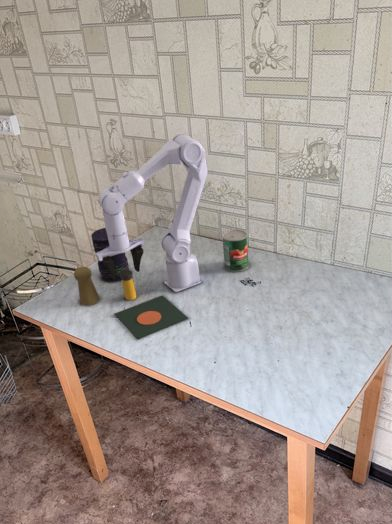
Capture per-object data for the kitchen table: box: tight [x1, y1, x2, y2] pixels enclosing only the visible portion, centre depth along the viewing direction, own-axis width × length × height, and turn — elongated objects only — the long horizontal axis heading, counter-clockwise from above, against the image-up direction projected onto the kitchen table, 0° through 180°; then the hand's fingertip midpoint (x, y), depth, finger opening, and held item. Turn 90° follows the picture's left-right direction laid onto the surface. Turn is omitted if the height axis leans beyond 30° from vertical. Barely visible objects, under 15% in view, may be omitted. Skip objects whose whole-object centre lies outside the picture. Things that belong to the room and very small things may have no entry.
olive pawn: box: [73, 266, 100, 306], centre depth 155 cm, size 6×6×11 cm
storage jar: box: [90, 227, 130, 283], centre depth 166 cm, size 10×10×15 cm
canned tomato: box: [221, 229, 250, 273], centre depth 163 cm, size 8×8×11 cm
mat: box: [114, 294, 189, 340], centre depth 147 cm, size 16×16×1 cm
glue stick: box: [120, 269, 137, 301], centre depth 155 cm, size 4×4×8 cm
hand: (125, 274), depth 153 cm, fingers open, 7 cm apart
